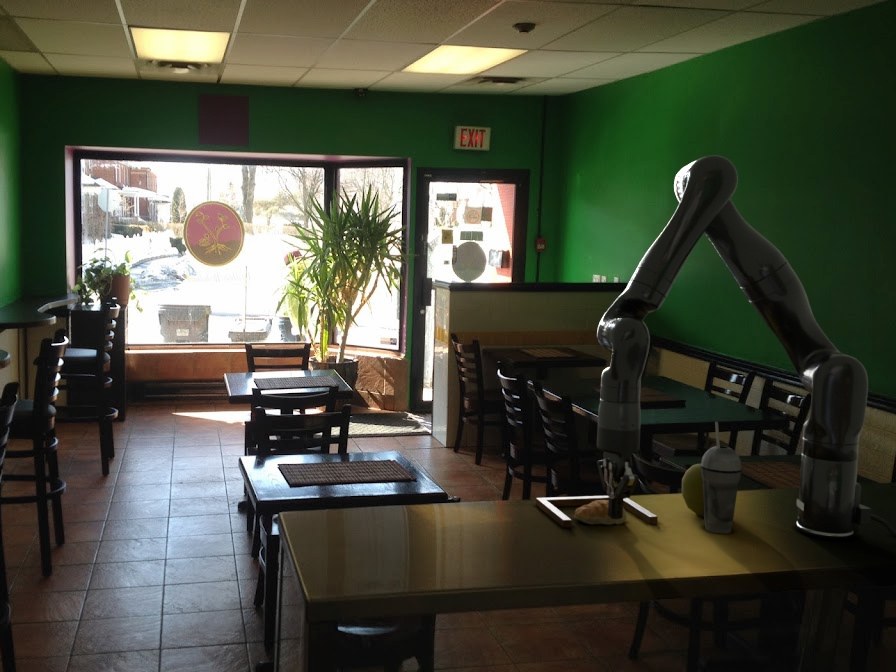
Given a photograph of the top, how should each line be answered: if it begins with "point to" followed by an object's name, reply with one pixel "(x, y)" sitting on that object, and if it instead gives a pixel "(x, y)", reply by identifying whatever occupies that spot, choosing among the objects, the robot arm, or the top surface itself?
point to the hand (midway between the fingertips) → (615, 517)
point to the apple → (693, 489)
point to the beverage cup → (720, 486)
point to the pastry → (597, 513)
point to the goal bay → (565, 521)
